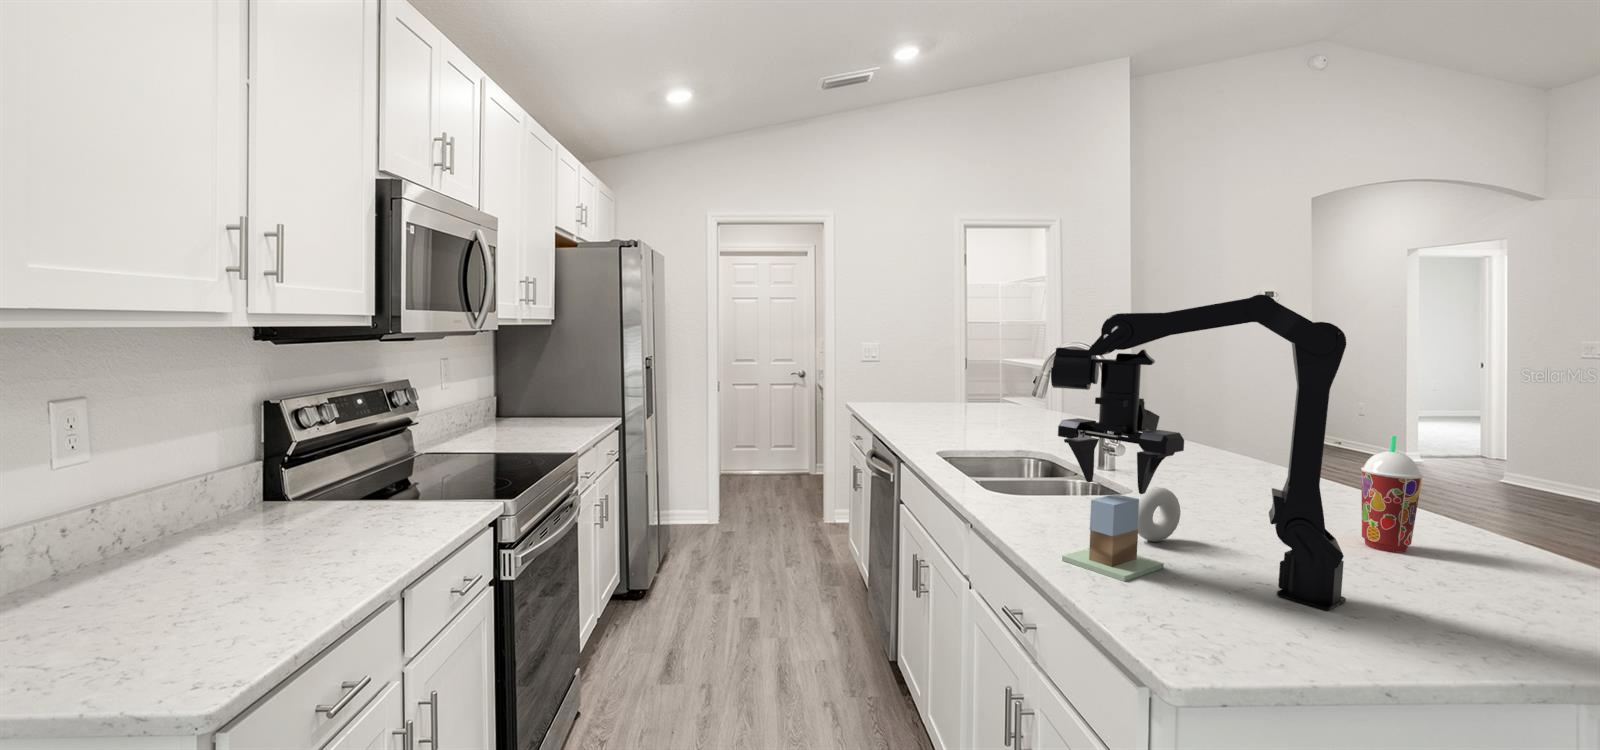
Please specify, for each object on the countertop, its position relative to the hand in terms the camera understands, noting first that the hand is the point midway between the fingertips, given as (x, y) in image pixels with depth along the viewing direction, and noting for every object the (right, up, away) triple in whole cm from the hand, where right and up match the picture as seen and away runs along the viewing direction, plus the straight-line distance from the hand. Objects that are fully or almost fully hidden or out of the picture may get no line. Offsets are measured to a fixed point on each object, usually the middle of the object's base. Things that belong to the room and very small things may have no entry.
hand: (1114, 487), depth 114 cm
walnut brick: (0, -12, +1) cm, 12 cm away
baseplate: (0, -13, +1) cm, 13 cm away
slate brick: (0, -7, 0) cm, 7 cm away
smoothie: (+53, -13, +11) cm, 56 cm away
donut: (+13, -12, +13) cm, 22 cm away
